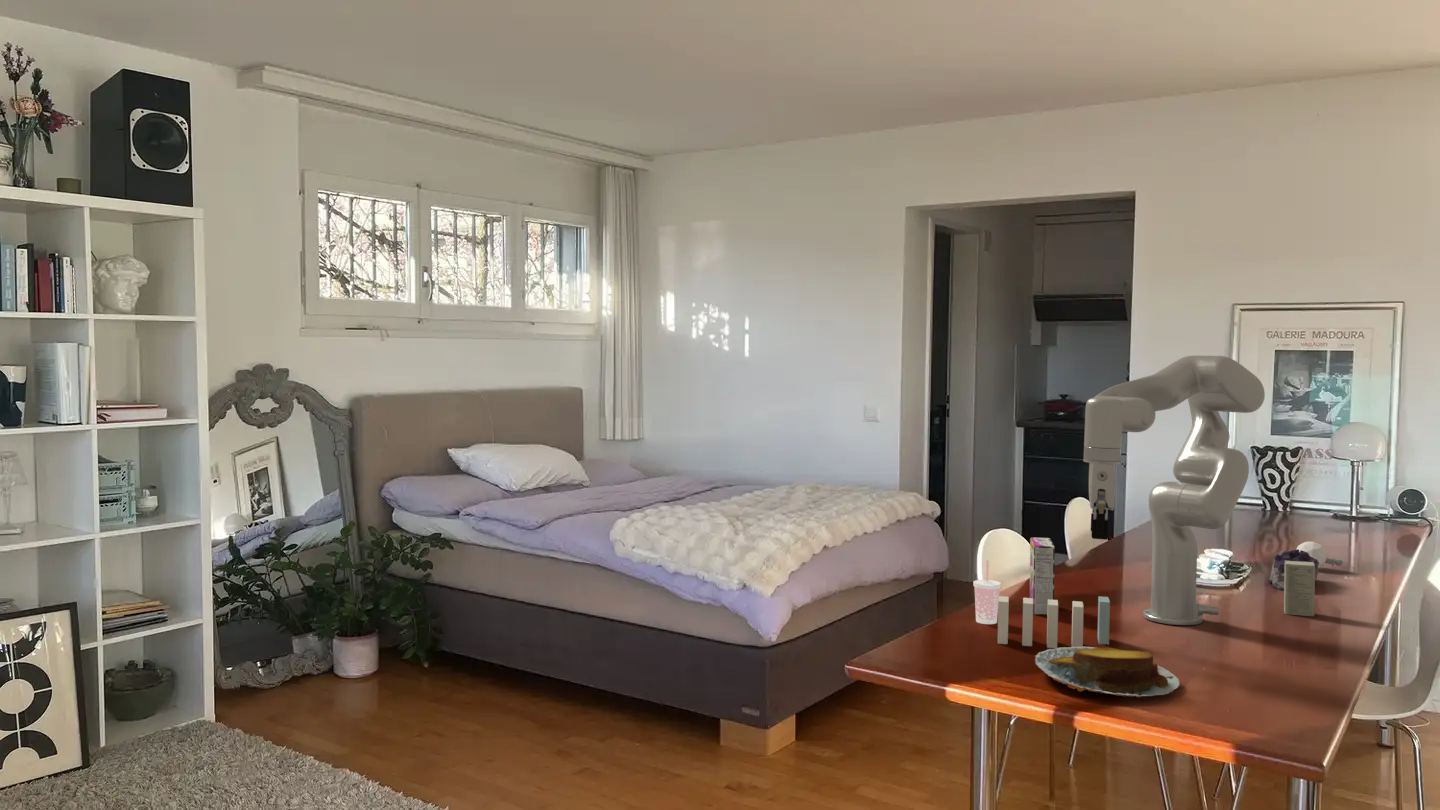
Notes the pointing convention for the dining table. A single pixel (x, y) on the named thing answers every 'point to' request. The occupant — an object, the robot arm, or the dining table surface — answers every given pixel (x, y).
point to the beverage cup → (986, 599)
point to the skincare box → (1299, 588)
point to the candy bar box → (1041, 573)
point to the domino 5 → (1103, 620)
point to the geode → (1279, 566)
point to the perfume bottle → (1318, 553)
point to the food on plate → (1107, 671)
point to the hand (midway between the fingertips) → (1098, 535)
